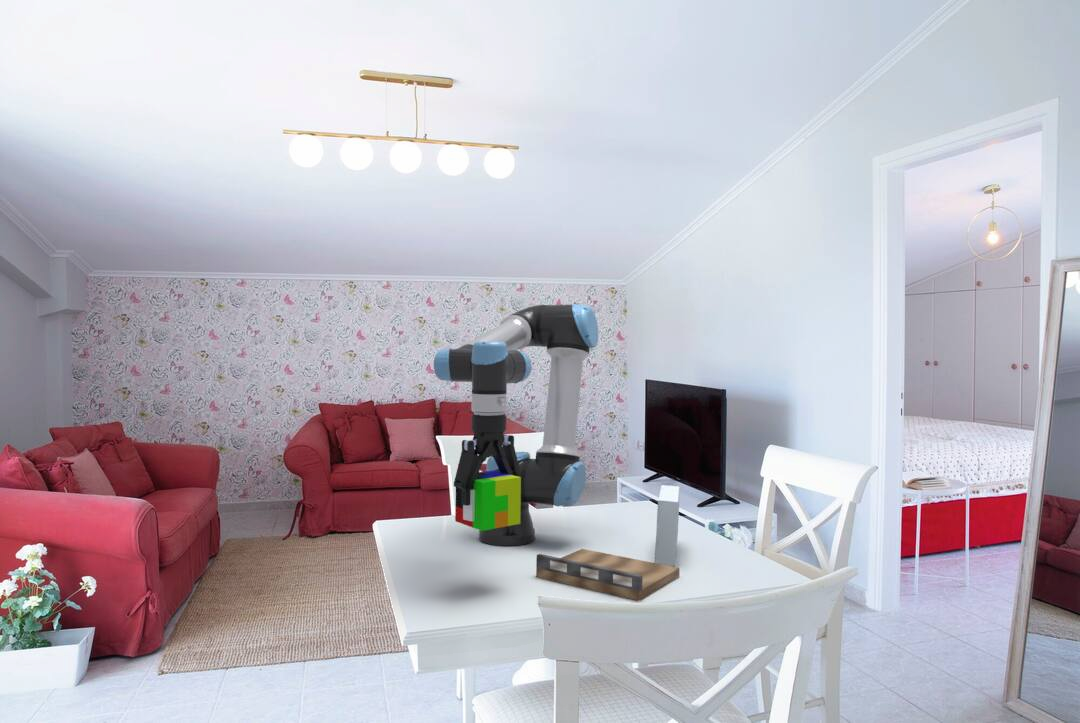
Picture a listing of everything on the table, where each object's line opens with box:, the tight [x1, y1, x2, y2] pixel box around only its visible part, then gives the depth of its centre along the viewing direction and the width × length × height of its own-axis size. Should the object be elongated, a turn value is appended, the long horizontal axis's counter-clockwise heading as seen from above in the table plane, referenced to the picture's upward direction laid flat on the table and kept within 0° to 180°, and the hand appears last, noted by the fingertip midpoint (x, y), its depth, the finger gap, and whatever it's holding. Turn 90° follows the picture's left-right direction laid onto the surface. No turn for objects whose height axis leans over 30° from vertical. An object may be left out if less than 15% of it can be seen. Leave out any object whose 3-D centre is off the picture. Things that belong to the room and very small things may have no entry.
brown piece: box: [535, 548, 680, 601], centre depth 167 cm, size 26×20×5 cm
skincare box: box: [653, 484, 680, 567], centre depth 186 cm, size 21×6×16 cm, turn 168°
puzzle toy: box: [454, 470, 521, 531], centre depth 158 cm, size 10×10×10 cm
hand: (487, 515), depth 158 cm, fingers closed on puzzle toy, 11 cm apart
